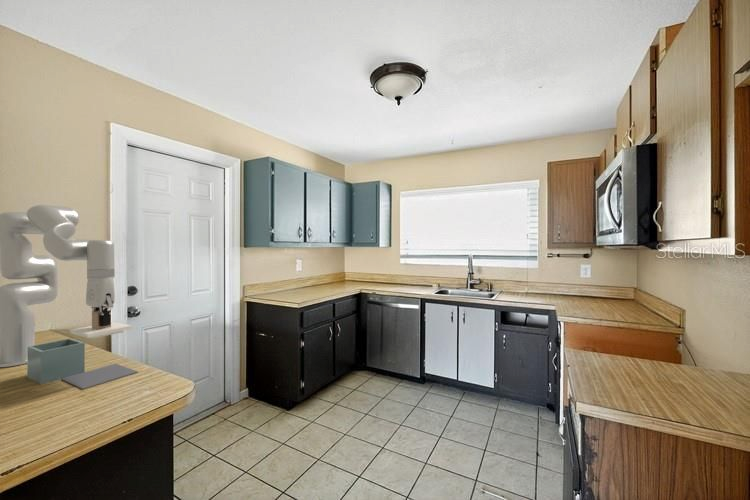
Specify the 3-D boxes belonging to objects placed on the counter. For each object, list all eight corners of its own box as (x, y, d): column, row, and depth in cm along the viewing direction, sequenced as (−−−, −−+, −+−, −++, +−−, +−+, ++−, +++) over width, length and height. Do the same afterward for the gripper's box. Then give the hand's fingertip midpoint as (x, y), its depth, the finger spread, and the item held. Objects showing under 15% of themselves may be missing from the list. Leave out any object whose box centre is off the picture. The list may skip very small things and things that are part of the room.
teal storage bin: (27, 377, 112) (27, 346, 112) (70, 366, 123) (70, 338, 123) (41, 384, 107) (40, 351, 107) (84, 372, 118) (84, 342, 117)
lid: (69, 335, 111) (69, 312, 111) (113, 327, 123) (113, 306, 123) (87, 340, 105) (87, 316, 105) (131, 331, 117) (131, 309, 117)
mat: (61, 379, 111) (61, 378, 111) (115, 364, 125) (115, 363, 125) (83, 389, 104) (83, 388, 104) (137, 372, 118) (137, 371, 118)
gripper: (76, 274, 114) (77, 324, 115) (99, 276, 107) (100, 330, 107) (102, 272, 121) (102, 320, 121) (125, 274, 113) (126, 325, 114)
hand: (101, 324), depth 114 cm, fingers closed on lid, 4 cm apart
